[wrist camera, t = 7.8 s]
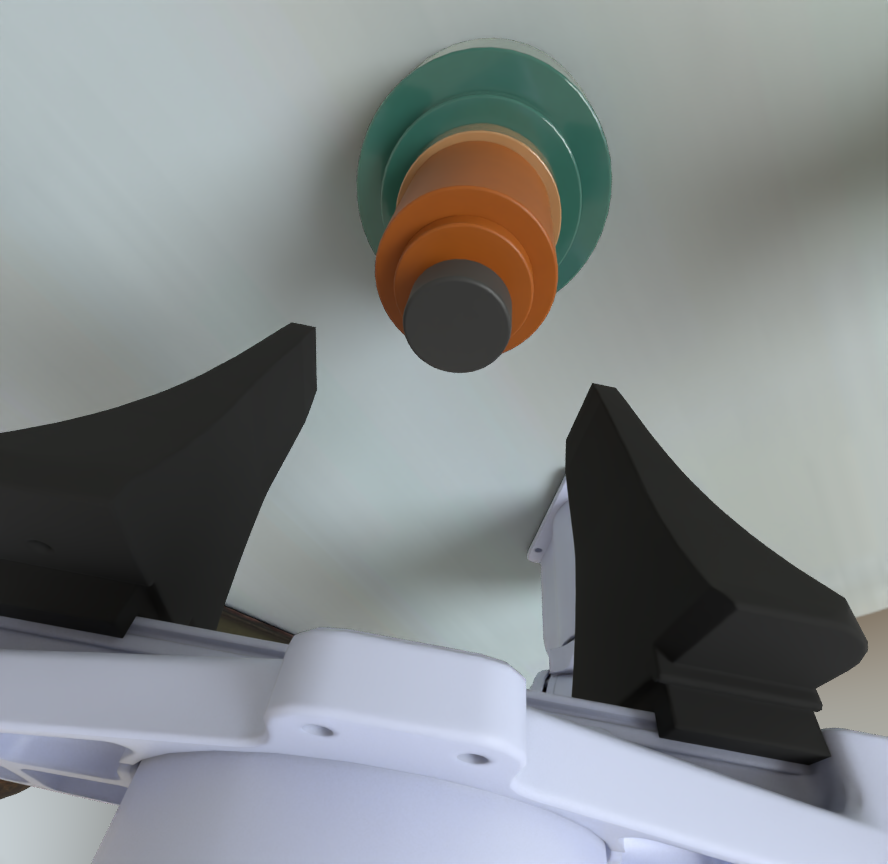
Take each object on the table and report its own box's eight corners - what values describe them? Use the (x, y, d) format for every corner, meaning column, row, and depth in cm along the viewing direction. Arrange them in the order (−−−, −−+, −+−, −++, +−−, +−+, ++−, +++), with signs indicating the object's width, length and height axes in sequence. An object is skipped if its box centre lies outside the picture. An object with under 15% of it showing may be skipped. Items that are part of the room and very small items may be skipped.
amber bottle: (527, 303, 17) (530, 426, 12) (396, 276, 17) (350, 390, 12) (571, 157, 14) (597, 248, 9) (411, 124, 14) (356, 199, 9)
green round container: (558, 302, 22) (566, 363, 19) (368, 263, 22) (340, 318, 18) (640, 67, 16) (673, 92, 13) (382, 12, 16) (344, 21, 13)
